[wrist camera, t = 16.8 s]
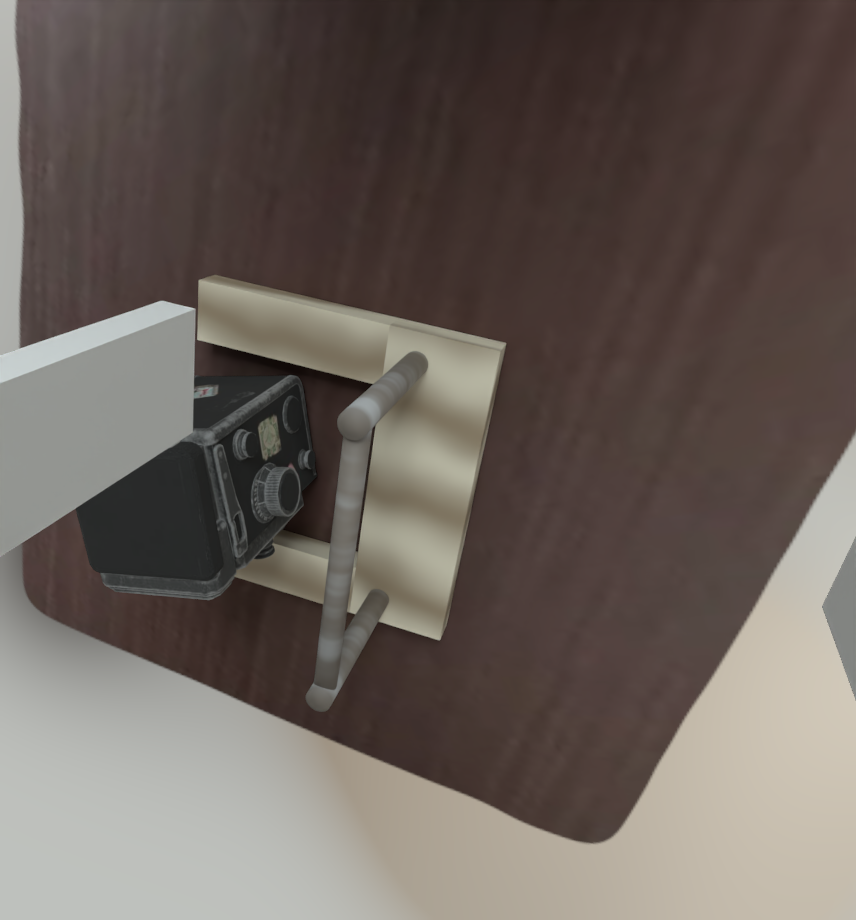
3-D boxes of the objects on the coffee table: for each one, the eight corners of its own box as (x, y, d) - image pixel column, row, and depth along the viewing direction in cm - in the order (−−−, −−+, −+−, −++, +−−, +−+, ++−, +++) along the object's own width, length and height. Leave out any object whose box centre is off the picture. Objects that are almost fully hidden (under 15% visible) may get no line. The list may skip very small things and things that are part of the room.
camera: (218, 503, 57) (86, 615, 44) (189, 369, 53) (35, 448, 40) (344, 508, 54) (244, 630, 41) (324, 368, 50) (206, 452, 37)
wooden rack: (214, 274, 49) (82, 317, 38) (506, 342, 46) (457, 412, 34) (205, 550, 59) (98, 651, 48) (446, 624, 55) (393, 752, 44)
